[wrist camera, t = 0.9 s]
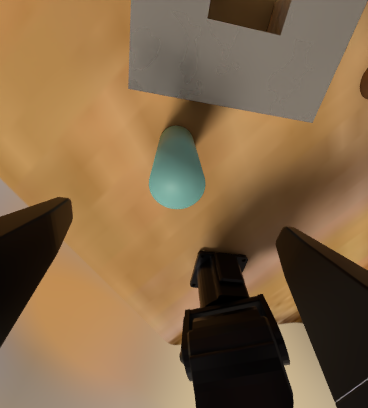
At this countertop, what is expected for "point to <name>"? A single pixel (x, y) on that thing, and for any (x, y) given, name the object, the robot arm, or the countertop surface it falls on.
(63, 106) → the countertop surface
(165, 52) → the socket
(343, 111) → the countertop surface
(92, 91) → the countertop surface
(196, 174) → the long peg
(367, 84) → the short peg
